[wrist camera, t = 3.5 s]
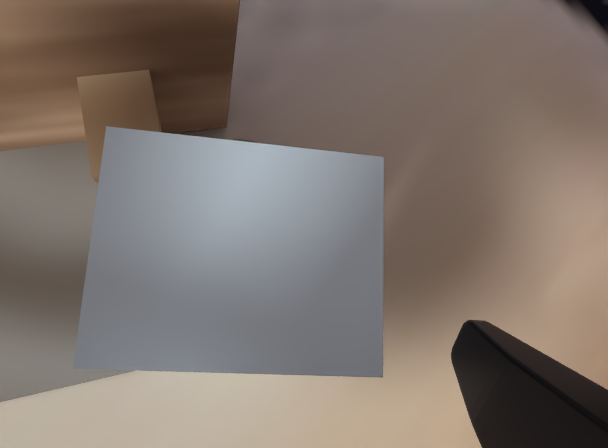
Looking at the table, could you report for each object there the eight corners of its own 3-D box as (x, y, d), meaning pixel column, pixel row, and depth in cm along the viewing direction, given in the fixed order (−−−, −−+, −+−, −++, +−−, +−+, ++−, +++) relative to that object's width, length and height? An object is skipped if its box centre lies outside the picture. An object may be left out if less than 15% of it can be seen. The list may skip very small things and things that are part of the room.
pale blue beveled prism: (286, 354, 19) (382, 377, 9) (147, 349, 18) (72, 368, 8) (292, 223, 20) (384, 107, 10) (162, 212, 19) (113, 73, 9)
